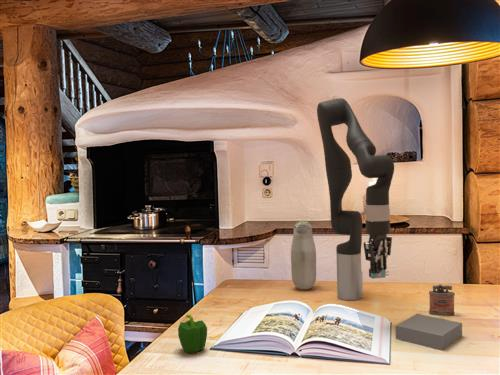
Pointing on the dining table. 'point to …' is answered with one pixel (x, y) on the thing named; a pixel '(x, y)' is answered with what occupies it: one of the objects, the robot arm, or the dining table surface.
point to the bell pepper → (192, 335)
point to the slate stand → (429, 331)
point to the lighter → (441, 301)
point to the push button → (379, 266)
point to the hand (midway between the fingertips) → (378, 271)
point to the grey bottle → (303, 256)
